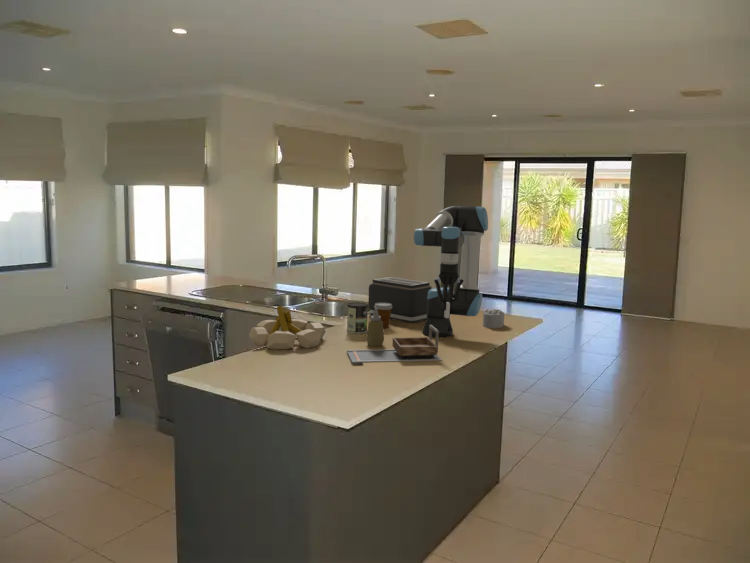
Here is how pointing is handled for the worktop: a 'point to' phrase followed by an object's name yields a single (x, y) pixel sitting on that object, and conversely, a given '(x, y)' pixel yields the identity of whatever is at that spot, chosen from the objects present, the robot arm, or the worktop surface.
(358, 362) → the track
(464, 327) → the worktop surface
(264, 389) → the worktop surface
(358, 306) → the coffee can
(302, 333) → the campfire
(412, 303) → the toaster
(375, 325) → the squeeze bottle
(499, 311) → the lumpy-topped squat cylinder
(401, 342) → the cart
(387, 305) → the disposable coffee cup
